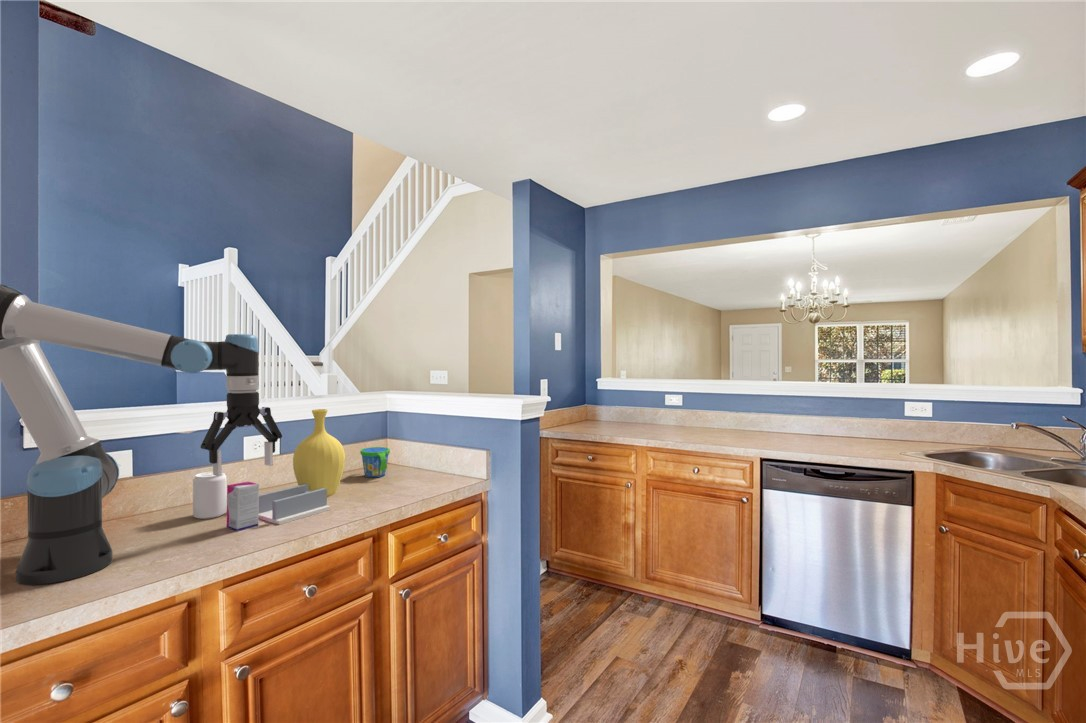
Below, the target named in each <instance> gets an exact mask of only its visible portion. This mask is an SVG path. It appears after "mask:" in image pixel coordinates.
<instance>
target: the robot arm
mask: <svg viewBox="0 0 1086 723" xmlns="http://www.w3.org/2000/svg"><path fill="white" fill-rule="evenodd" d="M39 342H44V343H50V344H53V345H59V346H64V347H69V348H73V349H78V350H83V351H88V352H93V353H98V354H103V355H107V356H111V357H117V358H121V359H125V360H126V359H127V360H132V361H136V362H141V363H145V364H151V365H156V366H159V367H164V368H168V369H172V370H173V371H178V372H179V371H180V372H183V373H185V374H186V373H187V374H199V373H200V372H203V371H223V370H224V371H226V375H225V377H226V378H225V380H226V381H225V382H226V385H225V386H226V389H225V390H226V391H227V393H226V408H227V410H226V412H225V411H223V412H222V411H214V413H213V418H212V422H211V424H210V426H209V429H208V430H207V433H206V434H205V436H204V439H203V440H202V442H201V445H200V449H202V450H206V451H208V454H209V456H208V457H209V458H208V459H209V463H210V464H211V465H212V471H213V475H215V476H222V450H219V449H220V447H221V446H222V445H223V444H224V443H225V441H226V440H227V438H228V437H229V436H230V434H231V433H232V432H233V431H234V430H236V428H237V427H239V428H241V427H245V426H247V427H248V426H249V427H251V426H253V427H254V429H256V430H257V431H258V432H259V433H260V435H261V436H263V437H264V438H265V439H266V441H264V442H263V444H264V465H265V466H269V467H271V466H273V465H274V462H273V461H274V460H273V459H274V457H273V456H274V453H276V442H278V440H279V439H282V438H283V434H282V433H281V431H280V429H279V427H278V425H277V423H276V422H275V419H274V417H273V416H272V410H271V407H268V406H262V407H261V408H259V405H260V393H259V392H258V390H259V388H260V387H259V386H260V385H259V382H260V381H259V379H260V378H259V362H260V361H259V356H260V355H259V352H260V351H259V342H258V337H257V336H256V335H255V334H250V333H249V334H248V333H247V334H246V333H244V334H243V333H241V334H240V333H239V334H238V333H237V334H236V333H234V334H233V333H232V334H230V333H229V334H227V335H225V339H224V340H223V341H204V340H203V341H199V340H196V339H195V340H194V339H189V338H186V337H181V336H176V335H172V334H169V333H165V332H160V331H157V330H152V329H148V328H143V327H140V326H135V325H131V324H126V323H122V322H118V321H113V320H110V319H105V318H101V317H98V316H97V317H96V316H92V315H89V314H85V313H81V312H76V311H73V310H69V309H68V310H67V309H63V308H59V307H55V306H50V305H48V304H47V305H46V304H42V303H39V302H36V301H35V302H34V301H32V300H31V299H30V298H29V296H27V295H26V294H24V293H23V292H22V291H20V290H19V289H16V288H14V287H12V286H9V285H5V284H1V283H0V383H1V384H2V385H3V387H4V389H5V390H6V393H7V394H8V397H9V398H10V400H11V401H12V404H13V405H14V407H15V409H16V411H17V413H18V414H19V416H20V418H21V420H22V421H23V423H24V425H25V427H26V429H27V431H28V432H29V434H30V436H31V438H32V440H33V441H34V443H35V445H36V446H37V448H38V451H39V452H40V455H39V457H38V458H37V460H36V462H35V465H33V466H32V467H31V468H30V469H29V471H28V473H27V480H26V485H25V486H26V490H27V495H26V496H27V542H26V544H25V547H24V550H23V552H22V554H21V556H20V559H19V561H18V563H17V566H16V568H15V580H16V583H18V584H22V585H29V586H30V585H32V586H33V585H47V584H48V585H49V584H54V583H59V582H65V581H69V580H74V579H78V578H82V577H83V576H87V575H90V574H93V573H95V572H98V571H101V570H103V569H104V568H107V566H109V565H110V564H111V563H112V562H113V549H112V547H111V544H110V542H109V541H108V540H109V539H108V538H107V536H106V533H105V532H104V529H103V498H105V497H106V496H108V495H109V494H110V493H111V492H112V491H113V490H114V488H115V487H116V485H117V483H118V480H119V478H120V467H119V464H118V462H117V461H116V459H115V458H114V457H113V456H111V454H109V453H107V452H106V450H105V449H104V447H103V445H102V442H101V441H100V440H99V439H97V438H94V437H91V436H90V435H88V434H87V433H86V430H85V428H84V426H83V425H82V423H81V421H80V419H79V418H78V415H77V413H76V411H75V409H74V408H73V405H72V404H71V403H70V401H69V398H68V396H67V395H66V393H65V391H64V389H63V387H62V385H61V383H60V382H59V380H58V377H57V376H56V374H55V372H54V370H53V369H52V366H51V364H50V363H49V360H48V359H47V357H46V355H45V353H44V351H43V350H42V347H41V345H40V344H39ZM259 415H261V417H262V419H263V421H264V422H265V423H266V424H265V425H266V426H267V427H268V428H267V427H266V426H265V425H264V423H262V421H261V420H260V419H259V418H258V417H259ZM226 418H227V419H228V420H227V421H226V423H225V424H224V427H223V428H222V429H221V431H220V432H219V430H220V428H221V427H222V425H223V422H224V420H226Z"/></svg>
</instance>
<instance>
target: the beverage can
mask: <svg viewBox="0 0 1086 723" xmlns="http://www.w3.org/2000/svg"><path fill="white" fill-rule="evenodd" d="M227 482H228V481H227V475H226V474H225V471H222V476H215V475H213V470H212V471H210V470H209V471H205V472H204V471H203V472H199V473H197V474H195V475H194V478H193V479H192V517H194V518H196V519H200V520H209V519H214V518H215V519H216V518H218V517H221V516H223V515H224V514H227V485H228V483H227Z"/></svg>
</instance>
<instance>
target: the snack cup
mask: <svg viewBox="0 0 1086 723" xmlns="http://www.w3.org/2000/svg"><path fill="white" fill-rule="evenodd" d="M359 452H360V453H359V454H360V455H361V459H362V466H363V473H364V476H365V477H366V478H369V479H370V478H373V479H375V478H380V477H384V476H385V475H386V474H387V473H386V472H387V469H388V459H389V454H391V453H390V452H391V450H390V448H389V447H383V446H372V447H366V448H362V449H361V450H360V451H359Z"/></svg>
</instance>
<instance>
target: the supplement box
mask: <svg viewBox="0 0 1086 723" xmlns="http://www.w3.org/2000/svg"><path fill="white" fill-rule="evenodd" d="M259 495H260V484H259V483H256V482H251V481H243V482H238V483H232V484H227V511H226V528H227V529H230V530H233V531H236V532H241V531H243V530H247V529H250V528H254V527H258V526H259Z"/></svg>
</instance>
